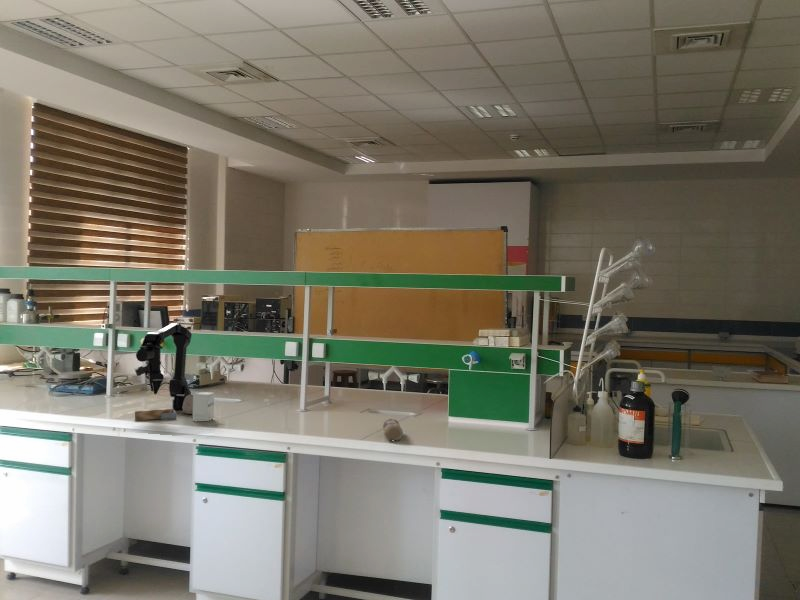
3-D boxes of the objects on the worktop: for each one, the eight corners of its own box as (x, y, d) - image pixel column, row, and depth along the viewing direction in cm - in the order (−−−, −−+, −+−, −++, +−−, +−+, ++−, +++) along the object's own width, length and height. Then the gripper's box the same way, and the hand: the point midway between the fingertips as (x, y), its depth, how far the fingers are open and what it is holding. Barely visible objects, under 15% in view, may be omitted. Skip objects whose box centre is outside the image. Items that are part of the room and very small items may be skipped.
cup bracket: (173, 416, 346) (173, 410, 346) (176, 419, 339) (176, 412, 339) (159, 417, 343) (159, 410, 343) (161, 419, 336) (161, 413, 336)
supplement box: (207, 422, 333) (207, 394, 333) (192, 421, 334) (192, 393, 334) (214, 419, 340) (214, 392, 340) (199, 418, 342) (200, 391, 341)
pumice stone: (214, 414, 354) (215, 393, 354) (205, 417, 347) (206, 396, 346) (188, 412, 359) (188, 391, 359) (178, 414, 352) (179, 393, 351)
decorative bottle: (403, 441, 301) (403, 425, 301) (384, 441, 300) (385, 425, 300) (398, 429, 327) (398, 414, 327) (381, 429, 326) (381, 414, 326)
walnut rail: (171, 416, 343) (171, 407, 343) (171, 417, 339) (171, 409, 339) (135, 418, 338) (134, 410, 338) (135, 420, 334) (134, 411, 334)
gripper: (133, 357, 347) (133, 390, 347) (138, 362, 330) (138, 396, 330) (158, 356, 351) (157, 389, 352) (164, 361, 335) (163, 395, 335)
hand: (153, 392), depth 342 cm, fingers open, 9 cm apart
